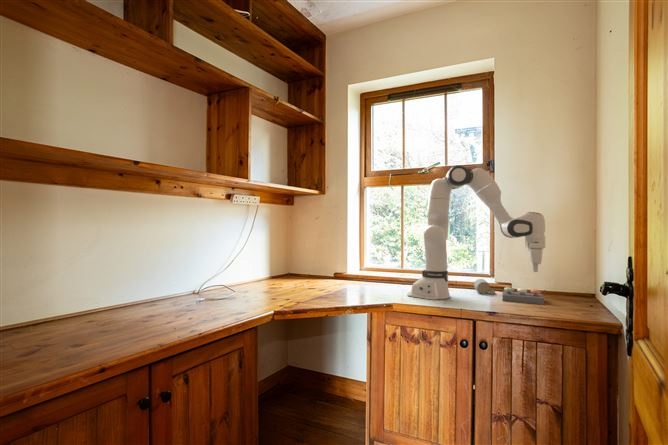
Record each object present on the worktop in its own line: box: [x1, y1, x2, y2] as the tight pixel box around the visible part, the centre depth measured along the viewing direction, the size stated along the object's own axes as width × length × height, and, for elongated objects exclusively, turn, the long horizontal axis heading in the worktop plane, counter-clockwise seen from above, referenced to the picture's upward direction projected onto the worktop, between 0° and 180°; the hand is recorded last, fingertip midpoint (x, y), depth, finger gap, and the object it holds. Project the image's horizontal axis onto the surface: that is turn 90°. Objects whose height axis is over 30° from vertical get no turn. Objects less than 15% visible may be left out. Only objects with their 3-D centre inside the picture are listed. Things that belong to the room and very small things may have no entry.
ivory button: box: [516, 287, 528, 295], centre depth 175 cm, size 4×4×4 cm
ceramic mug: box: [473, 278, 496, 295], centre depth 193 cm, size 11×8×8 cm
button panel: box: [501, 290, 545, 305], centre depth 174 cm, size 18×12×3 cm, turn 63°
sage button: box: [503, 286, 515, 294], centre depth 177 cm, size 4×4×4 cm
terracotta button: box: [530, 288, 542, 296], centre depth 172 cm, size 4×4×4 cm
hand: (535, 271), depth 172 cm, fingers closed
